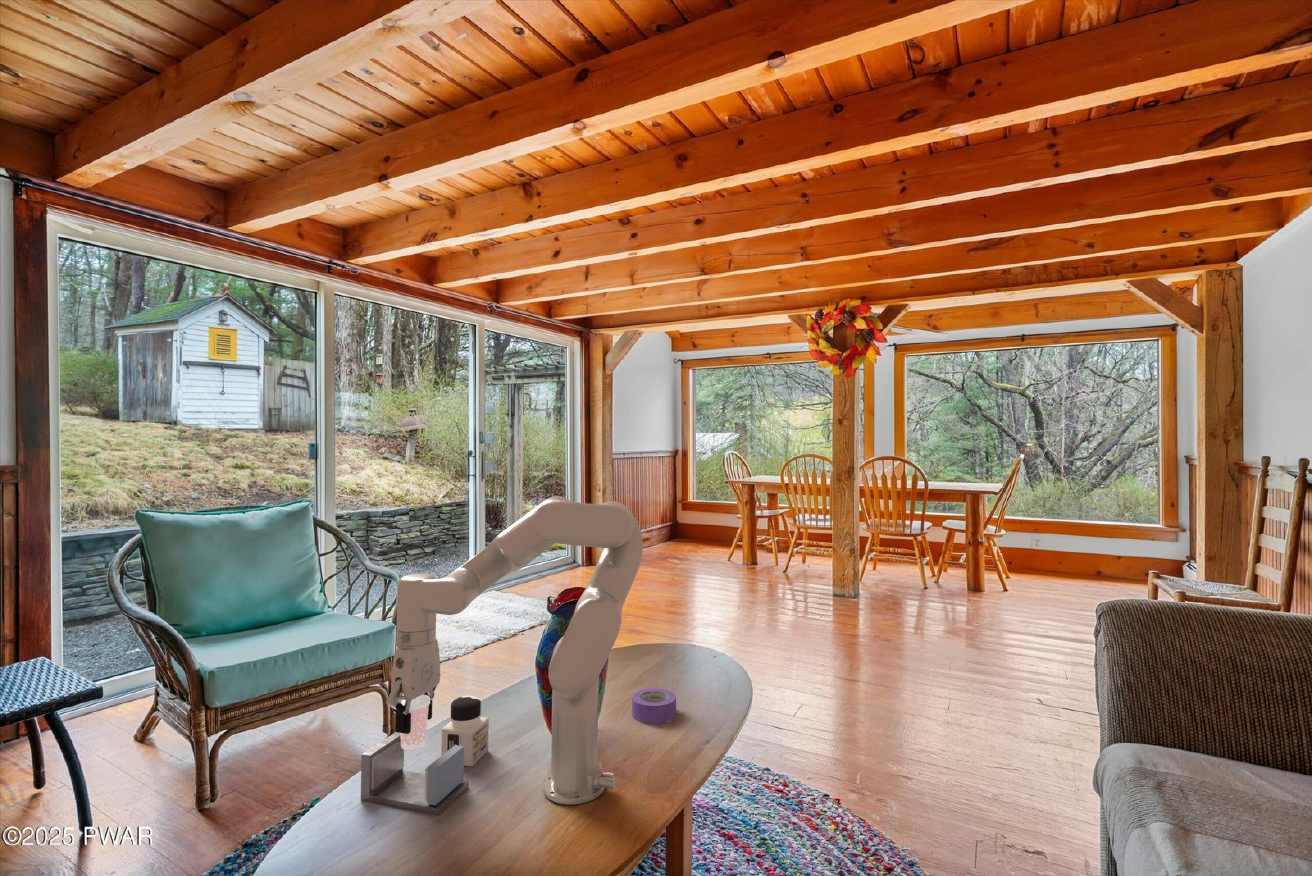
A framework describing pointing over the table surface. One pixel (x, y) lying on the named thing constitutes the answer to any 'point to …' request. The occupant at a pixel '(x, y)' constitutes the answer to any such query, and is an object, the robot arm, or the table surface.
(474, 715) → the container
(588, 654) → the robot arm
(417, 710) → the beverage cup
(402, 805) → the vise base
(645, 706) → the tape roll
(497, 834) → the table surface
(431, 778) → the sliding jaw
